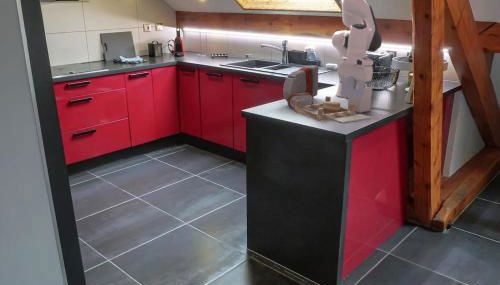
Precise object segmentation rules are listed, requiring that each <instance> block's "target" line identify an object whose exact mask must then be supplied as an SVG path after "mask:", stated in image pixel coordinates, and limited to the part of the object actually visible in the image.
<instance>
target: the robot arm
mask: <svg viewBox="0 0 500 285" xmlns="http://www.w3.org/2000/svg"><path fill="white" fill-rule="evenodd" d="M334 1H335V2H341V17H342V18H341V19H342V23H343V24H344V26H346V27H347V28H348V29H349V30H339V31H338V30H337V31H336V32H334V33H333V35H332V36H331V44H332V45H333V47H334V48H335V49H336V51H337V52H338V54H339V57H340V63H339V65H338V66H339V67H338V70H337V71H338V72H337V74H338V76H339V78H338V79H339V81H338V84H337V85H338V86H337V89H336V90H337V91H336V94H335V95H336V96H337V97H340V98H342V97H341V90H342V79H343V76H352V77H354V79H355V80H356V82H357V83H356V85H354V89H359V85H360V83H361V81H363V82H365V86H368V85H367V84H366V83H369V82H371V81H372V79H373V73H374V69H373V68H374V67H373V65H374V60H373V59H372V58H369V57H368V56H367V52H371V53H374V52H376V51H378V50H379V49H380V48H381V47H382V42H383V39H382V35H381V32H380V30H379V28H378V23H377V20H376V16H375V13H374V11H373V8H372V6H371V5H370V4H368V2H367V0H334ZM364 22H365V23H364ZM365 24H366V25H365Z"/></svg>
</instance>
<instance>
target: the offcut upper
mask: <svg viewBox="0 0 500 285" xmlns="http://www.w3.org/2000/svg"><path fill="white" fill-rule="evenodd" d="M322 103H323V109H337V110H340V107H341V102H339V101H330V102H327V101H325V100H323V101H322Z"/></svg>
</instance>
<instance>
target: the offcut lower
mask: <svg viewBox="0 0 500 285" xmlns="http://www.w3.org/2000/svg"><path fill="white" fill-rule="evenodd" d="M320 108H323V106H322V107H320ZM338 112H343V109H340V110H337V109H324V110H323V114H331V113H338Z"/></svg>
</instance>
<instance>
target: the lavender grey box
mask: <svg viewBox="0 0 500 285" xmlns="http://www.w3.org/2000/svg"><path fill="white" fill-rule="evenodd" d="M356 83H357V82H356V80H355V79H354V77H352V76H343V79H342V90H341V97H340V98H344V99H347V98H350V97H358V96H364V86H365V84H366V82H363V81H361V83H360V85H359V89H354V85H356Z"/></svg>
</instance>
